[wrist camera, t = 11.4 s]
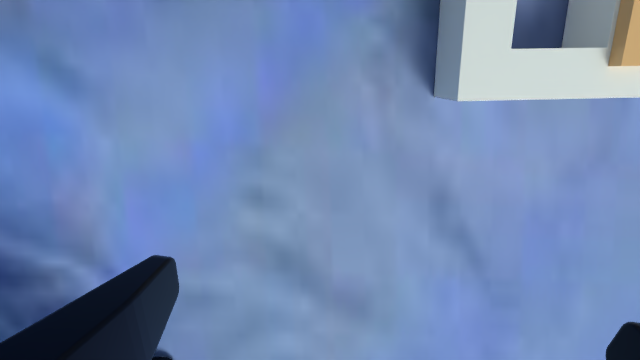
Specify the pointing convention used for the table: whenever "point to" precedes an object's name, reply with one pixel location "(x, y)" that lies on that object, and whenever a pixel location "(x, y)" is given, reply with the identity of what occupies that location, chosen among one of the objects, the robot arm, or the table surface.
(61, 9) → the table surface
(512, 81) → the socket block
